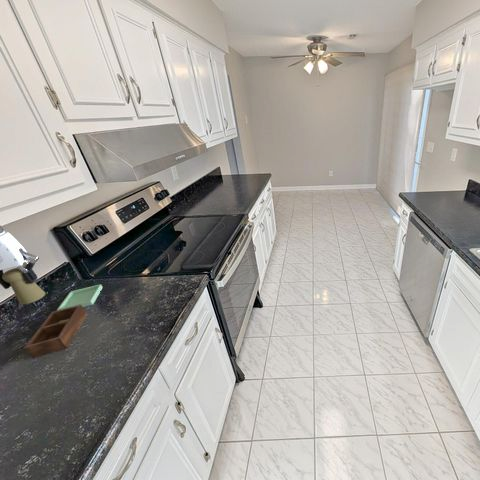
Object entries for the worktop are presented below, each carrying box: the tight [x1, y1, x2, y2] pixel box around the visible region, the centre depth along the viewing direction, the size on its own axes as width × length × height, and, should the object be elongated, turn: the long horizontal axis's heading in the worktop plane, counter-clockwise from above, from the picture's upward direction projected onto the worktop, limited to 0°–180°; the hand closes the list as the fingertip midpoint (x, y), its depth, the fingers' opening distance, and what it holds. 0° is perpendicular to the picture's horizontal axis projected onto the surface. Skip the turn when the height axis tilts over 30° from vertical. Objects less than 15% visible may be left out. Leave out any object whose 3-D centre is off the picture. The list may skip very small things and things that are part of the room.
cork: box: [2, 267, 46, 305], centre depth 80 cm, size 6×6×11 cm
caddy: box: [24, 305, 88, 359], centre depth 90 cm, size 9×17×5 cm, turn 22°
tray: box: [56, 283, 103, 311], centre depth 107 cm, size 11×12×2 cm
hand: (21, 283), depth 80 cm, fingers closed on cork, 5 cm apart
